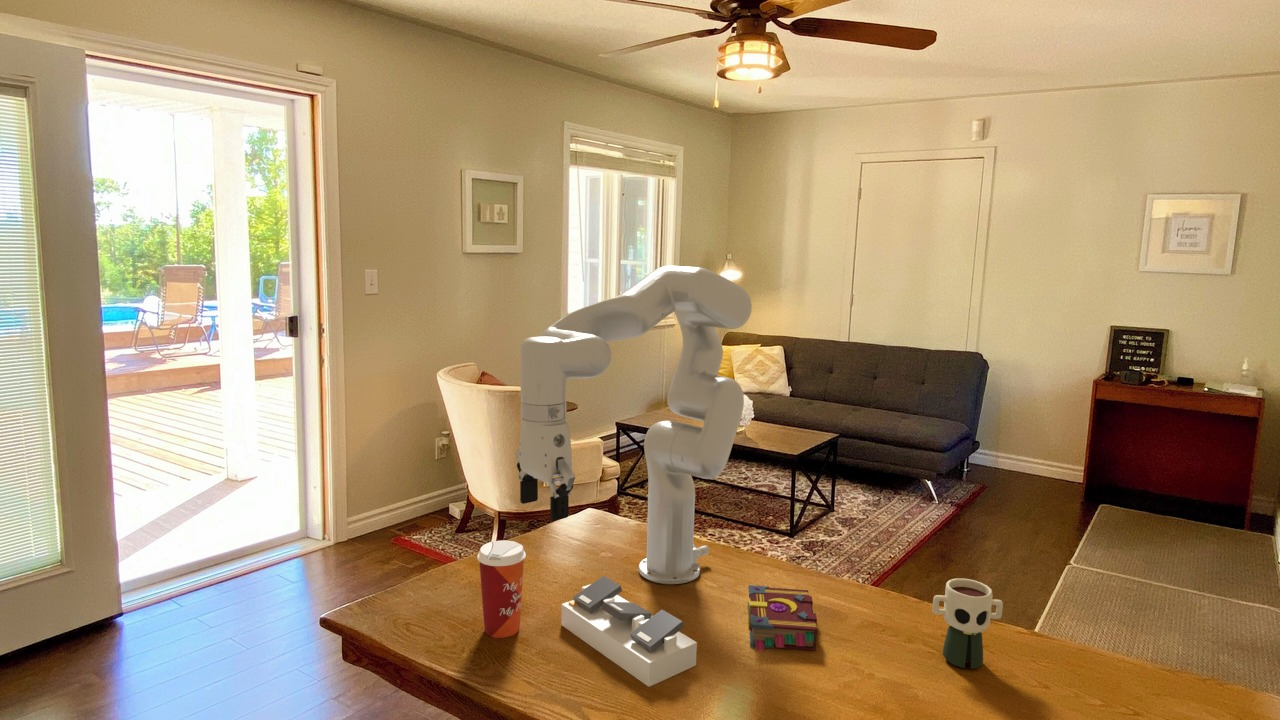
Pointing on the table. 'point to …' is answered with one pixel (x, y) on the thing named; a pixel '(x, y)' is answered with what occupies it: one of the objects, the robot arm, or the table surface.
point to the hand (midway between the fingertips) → (543, 510)
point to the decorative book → (781, 618)
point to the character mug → (966, 619)
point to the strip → (629, 643)
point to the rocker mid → (625, 610)
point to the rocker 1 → (597, 594)
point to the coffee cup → (501, 586)
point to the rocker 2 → (656, 630)
